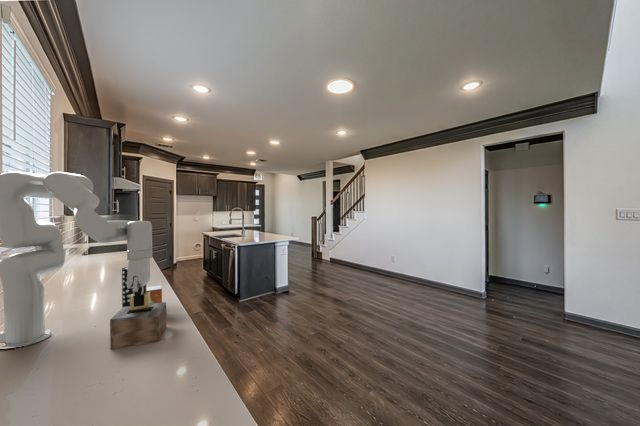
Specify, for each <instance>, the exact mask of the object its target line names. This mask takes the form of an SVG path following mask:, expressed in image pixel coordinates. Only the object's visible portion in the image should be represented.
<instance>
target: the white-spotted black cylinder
mask: <svg viewBox="0 0 640 426" xmlns="http://www.w3.org/2000/svg"><path fill="white" fill-rule="evenodd" d="M127 272H128V266H126V267H123V268H121V301H122V303H121V305H122V306H121V309H122V308H123V307H126V306H130V296H131V295H132V294H133V286H132V287H131V288H130V289H128V288H127Z"/></svg>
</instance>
